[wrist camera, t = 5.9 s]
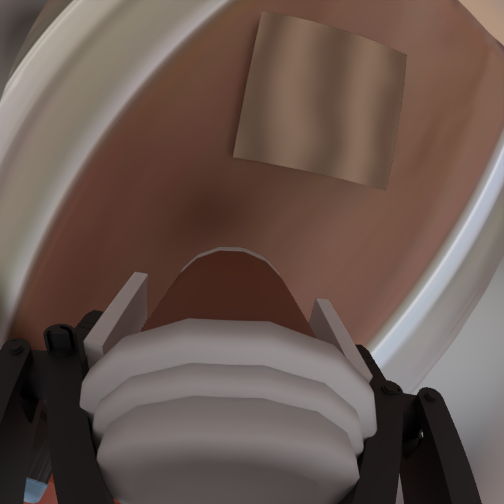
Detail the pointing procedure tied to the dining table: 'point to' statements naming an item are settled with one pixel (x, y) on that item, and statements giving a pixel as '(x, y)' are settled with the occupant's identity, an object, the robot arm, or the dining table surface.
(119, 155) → the dining table surface
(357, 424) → the coffee cup
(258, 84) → the base slab
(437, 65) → the dining table surface
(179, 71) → the dining table surface
